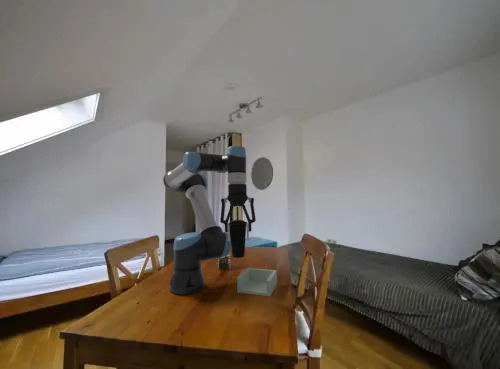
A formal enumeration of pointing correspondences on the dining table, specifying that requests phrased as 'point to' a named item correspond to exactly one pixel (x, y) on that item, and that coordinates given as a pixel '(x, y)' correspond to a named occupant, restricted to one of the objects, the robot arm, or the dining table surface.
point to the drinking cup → (238, 237)
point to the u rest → (257, 281)
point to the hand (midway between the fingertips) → (238, 239)
